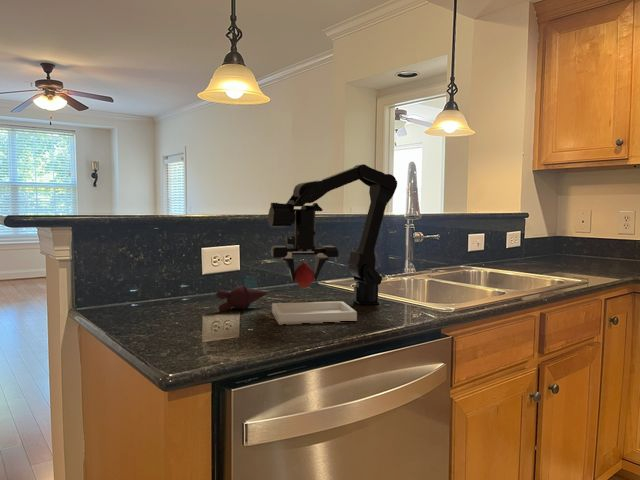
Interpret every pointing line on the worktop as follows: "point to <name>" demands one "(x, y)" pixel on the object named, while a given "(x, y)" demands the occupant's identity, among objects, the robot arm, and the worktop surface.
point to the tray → (312, 312)
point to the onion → (304, 275)
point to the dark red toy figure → (239, 297)
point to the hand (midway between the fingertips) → (304, 281)
